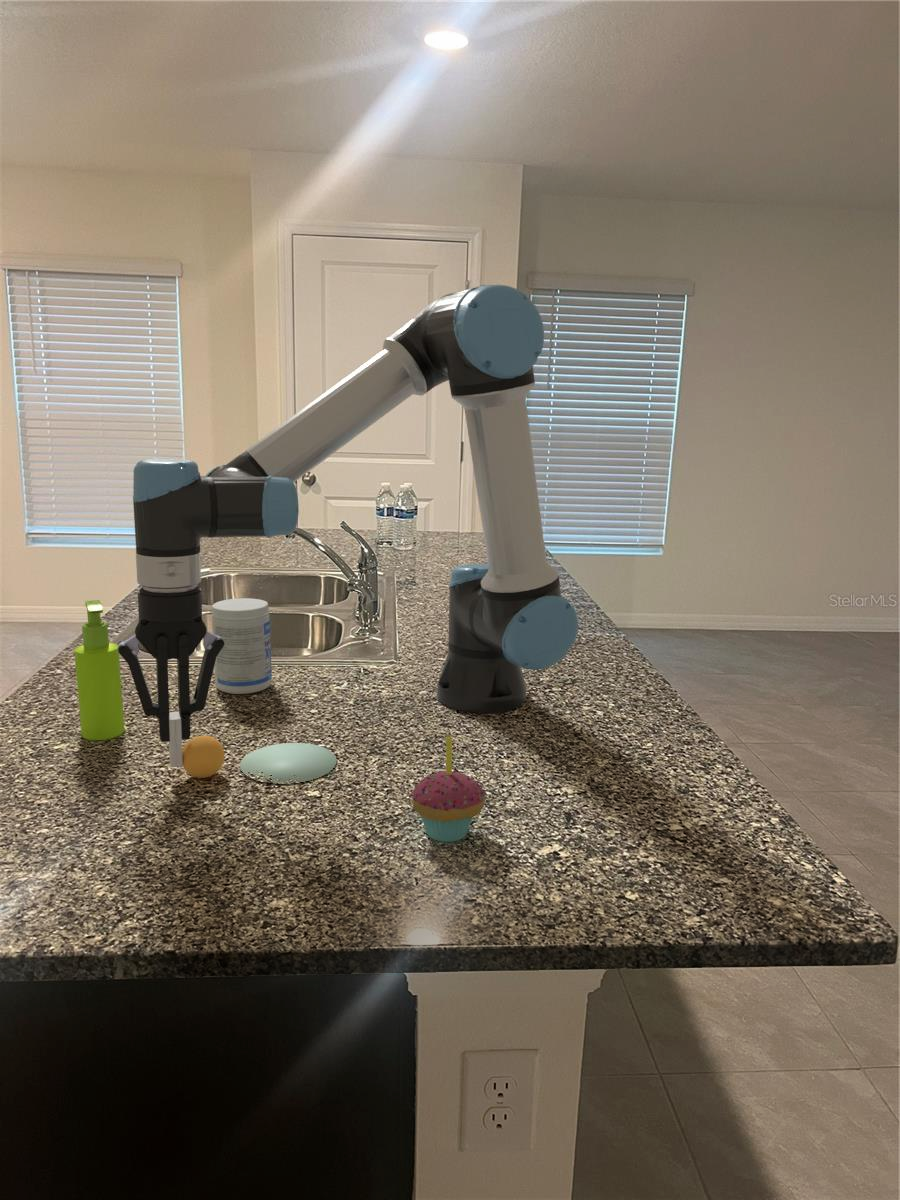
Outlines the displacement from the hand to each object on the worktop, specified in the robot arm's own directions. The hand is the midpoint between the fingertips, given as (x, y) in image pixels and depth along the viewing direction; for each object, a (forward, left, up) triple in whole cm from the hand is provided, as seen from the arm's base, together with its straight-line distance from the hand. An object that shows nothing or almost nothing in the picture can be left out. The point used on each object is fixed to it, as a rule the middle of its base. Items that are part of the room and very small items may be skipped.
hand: (175, 762), depth 109 cm
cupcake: (-37, -2, -3) cm, 38 cm away
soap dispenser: (+20, -7, -3) cm, 21 cm away
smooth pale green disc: (-10, -10, -2) cm, 15 cm away
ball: (-2, -2, 0) cm, 3 cm away
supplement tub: (+14, -33, -3) cm, 36 cm away
